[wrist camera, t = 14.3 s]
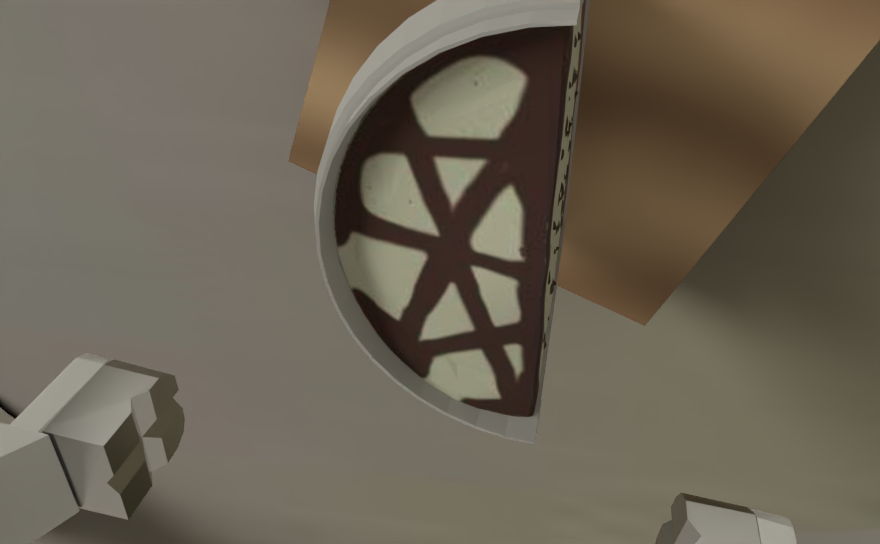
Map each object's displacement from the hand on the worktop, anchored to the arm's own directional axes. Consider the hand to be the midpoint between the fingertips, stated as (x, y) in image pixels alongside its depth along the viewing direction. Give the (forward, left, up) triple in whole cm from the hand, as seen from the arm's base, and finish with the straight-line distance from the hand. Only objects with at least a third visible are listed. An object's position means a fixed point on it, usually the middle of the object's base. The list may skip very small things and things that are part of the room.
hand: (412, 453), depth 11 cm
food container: (0, +1, -16) cm, 16 cm away
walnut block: (0, -1, -21) cm, 21 cm away
